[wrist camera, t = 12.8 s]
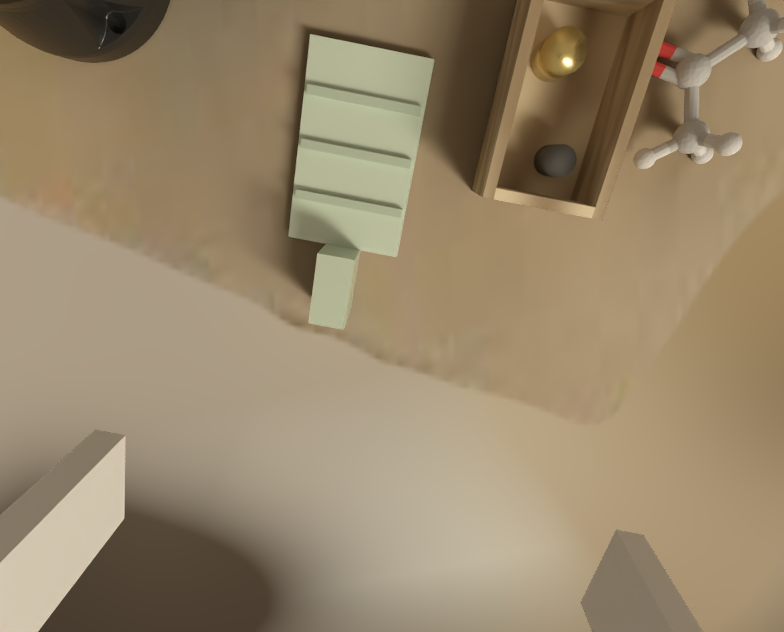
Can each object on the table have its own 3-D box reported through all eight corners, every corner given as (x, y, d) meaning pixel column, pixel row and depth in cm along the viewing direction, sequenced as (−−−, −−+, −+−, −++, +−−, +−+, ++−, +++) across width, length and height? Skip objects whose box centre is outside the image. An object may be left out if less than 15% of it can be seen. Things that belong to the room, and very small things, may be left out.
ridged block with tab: (284, 298, 43) (268, 316, 38) (312, 37, 36) (298, 19, 31) (385, 316, 43) (382, 336, 38) (433, 61, 36) (437, 47, 31)
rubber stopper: (530, 172, 38) (540, 174, 35) (538, 142, 37) (549, 141, 34) (558, 178, 38) (570, 180, 35) (567, 147, 37) (580, 147, 34)
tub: (471, 190, 39) (482, 197, 33) (520, -16, 34) (543, -49, 28) (574, 210, 39) (602, 220, 34) (637, 9, 34) (683, -19, 29)
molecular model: (578, 146, 41) (687, 193, 39) (578, 139, 34) (711, 195, 32) (678, -38, 36) (811, 6, 34) (703, -91, 29) (872, -39, 27)
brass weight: (526, 77, 36) (538, 70, 32) (537, 34, 35) (550, 21, 31) (563, 85, 36) (579, 78, 32) (575, 41, 35) (593, 30, 31)
